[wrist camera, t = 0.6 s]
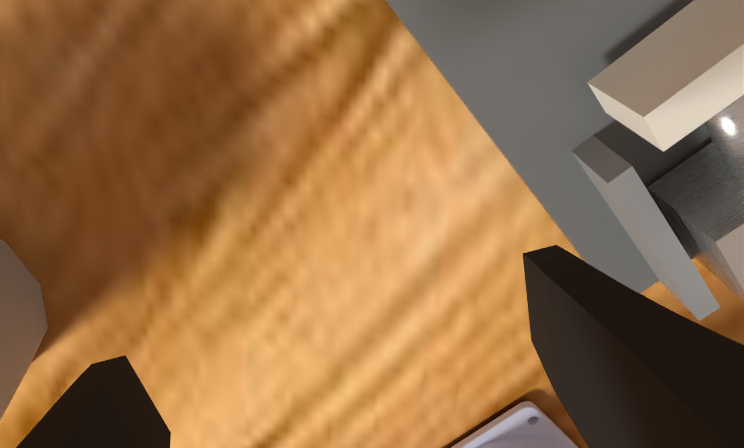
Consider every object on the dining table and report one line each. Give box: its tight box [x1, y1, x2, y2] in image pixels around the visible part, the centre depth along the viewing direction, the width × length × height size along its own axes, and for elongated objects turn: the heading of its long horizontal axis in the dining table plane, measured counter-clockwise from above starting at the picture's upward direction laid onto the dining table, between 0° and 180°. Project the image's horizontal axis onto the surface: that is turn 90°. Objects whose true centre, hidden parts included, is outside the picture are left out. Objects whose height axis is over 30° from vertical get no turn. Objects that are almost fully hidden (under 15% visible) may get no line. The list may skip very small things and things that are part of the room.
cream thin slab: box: [587, 0, 744, 152], centre depth 15 cm, size 1×7×3 cm, turn 129°
